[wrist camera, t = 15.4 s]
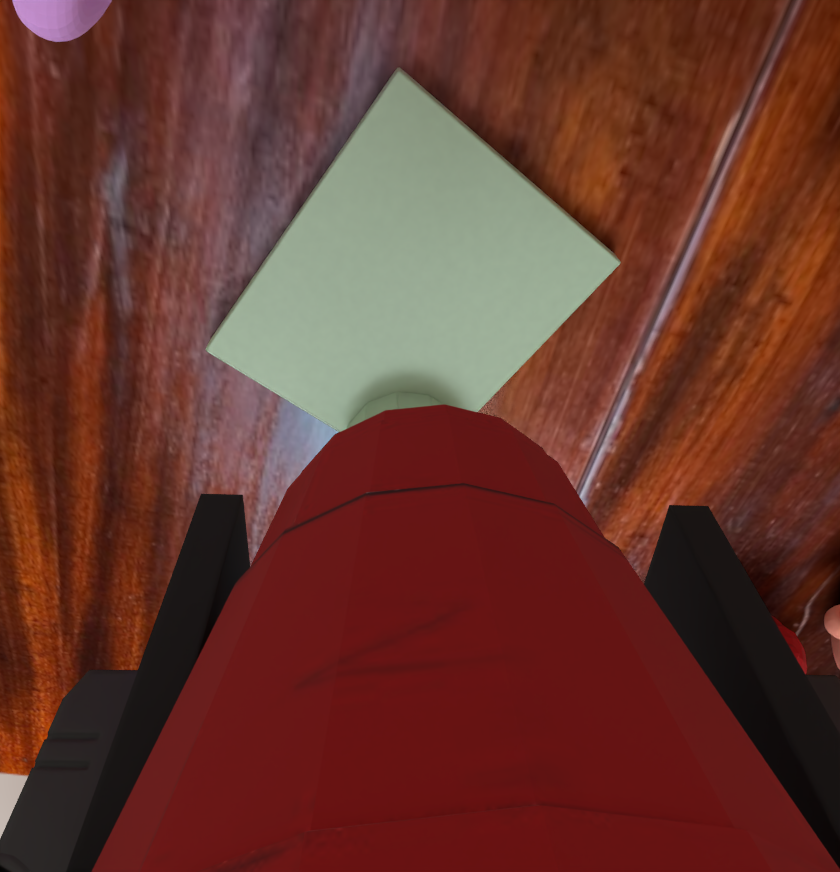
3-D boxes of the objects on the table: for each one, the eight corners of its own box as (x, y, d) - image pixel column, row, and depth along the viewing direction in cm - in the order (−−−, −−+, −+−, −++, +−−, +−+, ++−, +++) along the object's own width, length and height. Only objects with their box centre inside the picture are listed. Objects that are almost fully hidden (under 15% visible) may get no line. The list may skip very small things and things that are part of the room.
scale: (415, 495, 32) (416, 532, 30) (193, 363, 28) (177, 395, 26) (634, 271, 26) (655, 297, 24) (398, 65, 22) (398, 76, 20)
